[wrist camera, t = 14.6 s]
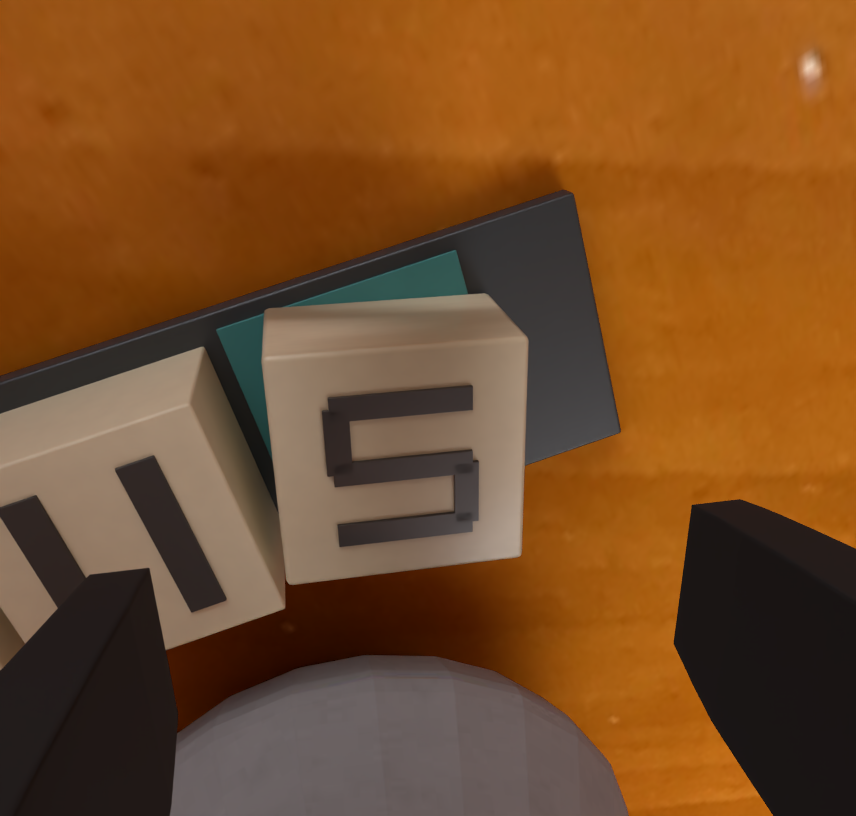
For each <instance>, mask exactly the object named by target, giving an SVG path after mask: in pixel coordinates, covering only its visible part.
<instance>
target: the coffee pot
mask: <svg viewBox="0 0 856 816" xmlns="http://www.w3.org/2000/svg"><path fill="white" fill-rule="evenodd" d="M170 816H629V815H628V811H627V807H626V805H625V802H624V799H623V797H622V794H621V791H620V789H619V786H618V783H617V780H616V778H615V775H614V772H613V770H612V767H611V764H610V763H609V762H608V760H607V759H606V758H605V757H604V755H603V754H602V753H601V752H600V751H599V750H598V749H597V748H596V746H595V745H594V744H593V743H592V742H591V741H590V740H589V739H588V738H587V737H586V735H585V734H584V733H583V732H582V731H581V730H580V729H579V728H578V727H577V726H576V724H575V723H574V722H573V721H572V720H571V719H570V718H569V717H568V716H567V715H566V714H564V713H563V712H562V711H560V710H559V709H557V708H556V707H555V706H553V705H552V704H551V703H549V702H548V701H546V700H545V699H544V698H542V697H540V696H539V695H537V694H535V693H533V692H532V691H530V690H528V689H526V688H524V687H523V686H521V685H519V684H517V683H515V682H514V681H512V680H510V679H508V678H507V677H505V676H503V675H501V674H499V673H498V672H496V671H493V670H489V669H485V668H481V667H477V666H472V665H468V664H464V663H460V662H456V661H452V660H448V659H444V658H440V657H436V656H391V655H362V656H357V657H352V658H347V659H342V660H336V661H331V662H326V663H321V664H316V665H311V666H305V667H301V668H297V669H294V670H292V671H289V672H287V673H285V674H282V675H280V676H277V677H275V678H273V679H270V680H268V681H265V682H263V683H261V684H258V685H256V686H253V687H251V688H249V689H246V690H244V691H241V692H239V693H237V694H234V695H232V696H230V697H228V698H227V699H225V700H224V701H222V702H221V703H220V704H218V705H217V706H215V707H214V708H212V709H211V710H210V711H208V712H207V713H205V714H204V715H203V716H201V717H200V718H198V719H197V720H195V721H194V722H193V723H191V724H190V725H188V726H187V727H186V728H184V729H183V730H181V731H180V732H178V733H177V740H176V755H175V769H174V781H173V793H172V805H171V811H170Z"/></svg>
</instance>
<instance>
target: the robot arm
mask: <svg viewBox="0 0 856 816" xmlns="http://www.w3.org/2000/svg"><path fill="white" fill-rule="evenodd" d="M674 645H675V647H676V649H677V652H678V654H679V656H680V658H681V660H682V662H683V664H684V667H685V669H686V671H687V673H688V675H689V677H690V679H691V682H692V684H693V686H694V688H695V690H696V692H697V694H698V696H699V697H700V699H701V701H702V703H703V705H704V707H705V709H706V711H707V713H708V715H709V717H710V719H711V721H712V722H713V724H714V726H715V727H716V729H717V730H718V732H719V733H720V735H721V737H722V738H723V740H724V741H725V743H726V744H727V746H728V747H729V749H730V750H731V752H732V754H733V755H734V757H735V758H736V760H737V761H738V763H739V764H740V766H741V767H742V769H743V770H744V772H745V773H746V775H747V777H748V778H749V780H750V781H751V783H752V784H753V786H754V787H755V789H756V790H757V792H758V793H759V795H760V796H761V798H762V799H763V801H764V802H765V804H766V805H767V807H768V808H769V810H770V811H771V813H772V814H773V816H856V549H855V548H853V547H851V546H848V545H846V544H844V543H842V542H840V541H838V540H835V539H833V538H831V537H829V536H827V535H824V534H822V533H820V532H818V531H816V530H814V529H811V528H809V527H807V526H805V525H802V524H800V523H798V522H796V521H793V520H791V519H789V518H787V517H784V516H782V515H780V514H777V513H775V512H772V511H770V510H767V509H765V508H762V507H760V506H757V505H754V504H752V503H749V502H746V501H743V500H740V499H739V500H731V501H722V502H713V503H705V504H696V505H692V509H691V516H690V524H689V531H688V539H687V546H686V554H685V562H684V569H683V577H682V584H681V592H680V599H679V607H678V614H677V622H676V629H675V637H674ZM177 725H178V711H177V706H176V701H175V696H174V691H173V685H172V680H171V675H170V670H169V665H168V660H167V655H166V650H165V645H164V639H163V634H162V629H161V624H160V619H159V614H158V609H157V604H156V599H155V594H154V588H153V583H152V578H151V573H150V568H142V569H133V570H125V571H116V572H108V573H99V574H90V575H89V576H88V577H87V578H86V579H85V580H84V581H83V582H82V583H81V584H80V585H79V586H78V587H77V588H76V589H75V590H74V591H73V592H72V594H71V595H70V596H69V597H68V598H67V599H66V600H65V601H64V602H63V603H62V604H61V605H60V607H59V608H58V609H57V610H56V611H55V612H54V613H53V614H52V615H51V616H50V617H49V618H48V619H47V621H46V622H45V623H44V624H43V625H42V626H41V627H40V628H39V629H38V630H37V631H36V633H35V634H34V635H33V636H32V637H31V638H30V639H29V640H28V641H27V642H26V643H25V645H24V646H23V647H22V648H21V649H20V650H19V651H18V652H17V653H16V654H15V655H14V656H13V658H12V659H11V660H10V661H9V662H8V663H7V664H6V665H5V666H4V667H3V668H2V669H1V670H0V816H170V811H171V805H172V793H173V781H174V769H175V755H176V740H177Z"/></svg>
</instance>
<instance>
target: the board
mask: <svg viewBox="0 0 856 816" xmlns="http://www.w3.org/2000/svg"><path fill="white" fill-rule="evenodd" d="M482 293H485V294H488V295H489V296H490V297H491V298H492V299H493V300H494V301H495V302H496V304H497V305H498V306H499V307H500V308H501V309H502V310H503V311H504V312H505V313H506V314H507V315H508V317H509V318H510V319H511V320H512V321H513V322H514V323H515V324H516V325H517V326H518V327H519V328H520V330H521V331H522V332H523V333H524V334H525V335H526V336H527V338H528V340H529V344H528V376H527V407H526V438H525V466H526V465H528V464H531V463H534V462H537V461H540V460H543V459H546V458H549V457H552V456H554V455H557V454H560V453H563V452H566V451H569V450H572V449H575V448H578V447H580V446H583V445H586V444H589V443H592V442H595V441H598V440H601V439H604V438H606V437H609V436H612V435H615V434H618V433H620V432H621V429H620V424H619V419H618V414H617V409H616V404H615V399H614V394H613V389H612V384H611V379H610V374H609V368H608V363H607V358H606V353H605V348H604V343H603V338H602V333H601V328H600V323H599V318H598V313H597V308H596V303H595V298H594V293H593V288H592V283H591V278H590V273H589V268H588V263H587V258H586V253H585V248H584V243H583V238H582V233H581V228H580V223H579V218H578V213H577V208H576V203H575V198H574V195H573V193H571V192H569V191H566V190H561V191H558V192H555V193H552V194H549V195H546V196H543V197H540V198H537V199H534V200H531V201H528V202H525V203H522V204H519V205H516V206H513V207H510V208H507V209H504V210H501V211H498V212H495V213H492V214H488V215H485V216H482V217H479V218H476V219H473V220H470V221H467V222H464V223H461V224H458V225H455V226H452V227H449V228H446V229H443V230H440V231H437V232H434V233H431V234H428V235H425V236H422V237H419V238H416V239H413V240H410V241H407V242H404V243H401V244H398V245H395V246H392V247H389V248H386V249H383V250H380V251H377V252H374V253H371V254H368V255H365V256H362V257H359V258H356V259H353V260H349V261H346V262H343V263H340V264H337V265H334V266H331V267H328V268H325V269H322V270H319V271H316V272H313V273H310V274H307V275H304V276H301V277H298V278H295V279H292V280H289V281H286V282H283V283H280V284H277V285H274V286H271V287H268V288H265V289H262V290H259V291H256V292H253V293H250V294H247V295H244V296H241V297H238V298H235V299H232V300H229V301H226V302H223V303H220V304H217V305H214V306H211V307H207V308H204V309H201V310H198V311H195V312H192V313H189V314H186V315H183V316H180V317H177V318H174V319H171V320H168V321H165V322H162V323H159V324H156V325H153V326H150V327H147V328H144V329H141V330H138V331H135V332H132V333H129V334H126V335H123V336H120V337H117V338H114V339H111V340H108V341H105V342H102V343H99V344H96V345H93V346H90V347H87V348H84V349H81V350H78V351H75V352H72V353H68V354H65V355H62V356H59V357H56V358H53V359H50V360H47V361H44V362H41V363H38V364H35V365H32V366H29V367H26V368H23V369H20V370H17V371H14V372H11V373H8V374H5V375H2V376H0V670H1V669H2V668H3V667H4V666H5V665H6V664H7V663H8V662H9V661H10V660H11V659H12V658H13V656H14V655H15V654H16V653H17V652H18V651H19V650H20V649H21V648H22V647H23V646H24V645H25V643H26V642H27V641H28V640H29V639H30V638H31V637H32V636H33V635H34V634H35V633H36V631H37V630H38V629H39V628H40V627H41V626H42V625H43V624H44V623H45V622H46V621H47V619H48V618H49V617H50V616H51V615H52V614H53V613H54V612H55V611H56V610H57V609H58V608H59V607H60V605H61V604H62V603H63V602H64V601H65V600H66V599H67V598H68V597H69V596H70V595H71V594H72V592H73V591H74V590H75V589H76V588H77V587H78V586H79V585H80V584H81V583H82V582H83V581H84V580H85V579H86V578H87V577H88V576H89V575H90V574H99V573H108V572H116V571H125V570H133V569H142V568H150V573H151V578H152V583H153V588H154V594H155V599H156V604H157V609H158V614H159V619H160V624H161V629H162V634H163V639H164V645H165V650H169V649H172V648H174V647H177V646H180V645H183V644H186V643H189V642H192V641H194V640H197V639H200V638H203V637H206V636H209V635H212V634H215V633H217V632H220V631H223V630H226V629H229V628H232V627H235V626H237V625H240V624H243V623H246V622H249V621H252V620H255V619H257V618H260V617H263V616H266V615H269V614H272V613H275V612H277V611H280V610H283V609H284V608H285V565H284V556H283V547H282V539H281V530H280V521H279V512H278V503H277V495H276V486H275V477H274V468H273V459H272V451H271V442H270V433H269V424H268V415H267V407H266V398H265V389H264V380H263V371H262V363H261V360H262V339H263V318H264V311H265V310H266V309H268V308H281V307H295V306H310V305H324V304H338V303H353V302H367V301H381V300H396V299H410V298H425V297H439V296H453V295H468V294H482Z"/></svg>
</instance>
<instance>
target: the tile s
mask: <svg viewBox="0 0 856 816" xmlns="http://www.w3.org/2000/svg"><path fill="white" fill-rule="evenodd" d="M528 344H529V340H528V338H527V336H526V335H525V334H524V333H523V332H522V331H521V330H520V328H519V327H518V326H517V325H516V324H515V323H514V322H513V321H512V320H511V319H510V318H509V317H508V315H507V314H506V313H505V312H504V311H503V310H502V309H501V308H500V307H499V306H498V305H497V304H496V302H495V301H494V300H493V299H492V298H491V297H490V296H489V295H488V294H485V293H482V294H468V295H453V296H439V297H425V298H410V299H396V300H381V301H367V302H353V303H338V304H324V305H310V306H295V307H281V308H268V309H266V310H265V311H264V318H263V339H262V360H261V363H262V371H263V380H264V389H265V398H266V407H267V415H268V424H269V433H270V442H271V451H272V459H273V468H274V477H275V486H276V495H277V503H278V512H279V521H280V530H281V539H282V547H283V556H284V565H285V574H286V580H287V582H288V583H289V584H290V585H296V584H304V583H312V582H321V581H329V580H337V579H345V578H353V577H361V576H370V575H378V574H386V573H394V572H402V571H410V570H419V569H427V568H435V567H443V566H451V565H459V564H468V563H476V562H484V561H492V560H500V559H508V558H517V557H519V556H521V553H522V532H523V501H524V470H525V438H526V407H527V376H528Z"/></svg>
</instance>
